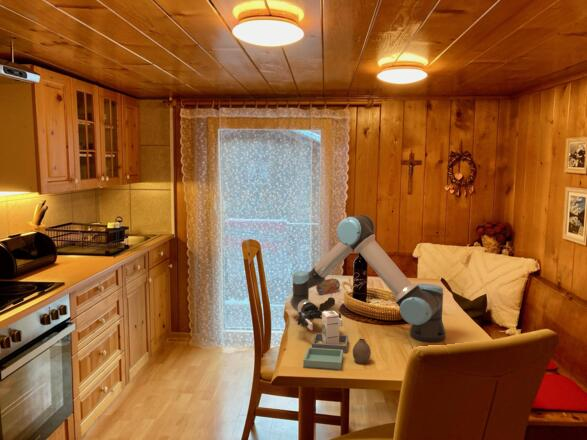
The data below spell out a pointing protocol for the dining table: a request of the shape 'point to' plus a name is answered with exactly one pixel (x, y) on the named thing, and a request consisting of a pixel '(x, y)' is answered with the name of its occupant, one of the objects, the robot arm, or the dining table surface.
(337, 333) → the syrup box
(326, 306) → the hand tool
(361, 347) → the vase
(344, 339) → the bin
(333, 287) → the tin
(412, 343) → the dining table surface
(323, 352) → the bin
